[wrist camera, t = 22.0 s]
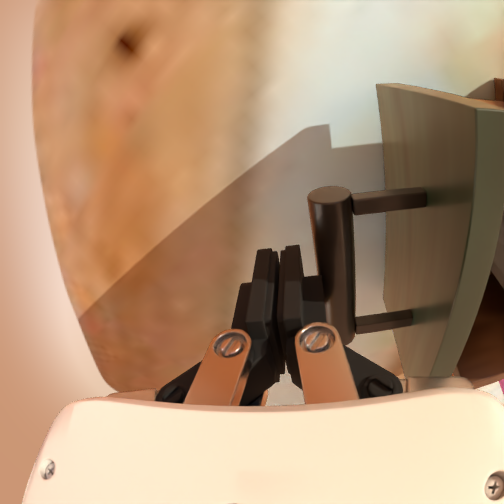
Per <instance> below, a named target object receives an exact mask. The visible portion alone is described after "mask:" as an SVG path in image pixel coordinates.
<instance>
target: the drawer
mask: <svg viewBox="0 0 504 504" xmlns="http://www.w3.org/2000/svg"><path fill="white" fill-rule="evenodd" d="M376 90H377V97H378V104H379V112H380V121H381V131H382V142H383V154H384V170H385V190H383V191H373V192H364V193H355V194H351V192H350V191H349V190H348V189H346V188H344V187H339V186H327V187H321V188H318V189H315V190H313V191H311V192H310V193H309V194H308V197H307V200H308V206H309V213H310V220H311V228H312V235H313V243H314V250H315V258H316V267H317V275H322V283H323V292H324V301H325V311H326V321H327V324H330V325H332V326H333V327H335V328H336V329H337V331H338V333H339V335H340V338H341V341H342V344H343V345H348V344H349V343H350V342H352V340H353V339H354V337H355V332H356V334H363V333H370V332H377V331H384V330H390V329H392V330H393V333H394V337H395V341H396V344H397V348H398V352H399V356H400V360H401V364H402V368H403V372H404V376H405V379H408V376H423V377H439V376H452V373H453V374H454V376H460V377H465V378H467V379H468V380H470V381H471V383H472V384H473V385H474V389H476V388H479V387H482V386H485V385H488V384H491V383H494V382H497V381H500V380H502V379H504V289H503V287H502V286H501V284H500V283H499V281H498V280H497V278H496V277H495V276H494V274H493V273H492V271H491V267H492V263H493V259H494V254H495V250H496V246H497V241H498V236H499V231H500V226H501V221H502V215H503V209H504V102H503V101H494V100H483V99H470V98H466V97H462V96H458V95H454V94H450V93H446V92H441V91H437V90H432V89H427V88H422V87H417V86H411V85H405V84H398V83H388V84H376ZM379 212H386V253H385V277H384V292H383V300H384V303H385V306H386V309H387V313H381V314H374V315H367V316H360V317H355V311H356V285H355V247H354V226H353V214H354V215H362V214H371V213H379Z"/></svg>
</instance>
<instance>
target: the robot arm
mask: <svg viewBox="0 0 504 504" xmlns="http://www.w3.org/2000/svg"><path fill="white" fill-rule="evenodd" d="M285 360H286V365H287V369H288V373H289V374H291V378H292V382H293V383H294V384H295V385H296V386H298V387H299V388H300V389H302V390H303V395H304V400H305V404H304V405H285V406H265V404H266V401H267V397H268V388H270V387H271V386H272V385H273V384H275V382H279V379H280V374H285ZM22 504H504V407H503V405H502V404H501V402H500V401H499V400H498V399H497V398H496V397H494V396H493V395H491V394H489V393H487V392H484V391H480V390H476V389H474V385H473V384H472V383H471V381H470V380H468V379H467V378H465V377H460V376H439V377H423V376H408V379H399V378H398V377H396V376H395V375H394V374H392V373H391V372H389V371H387V370H385V369H384V368H382V367H380V366H378V365H377V364H375V363H373V362H372V361H370V360H368V359H367V358H365V357H363V356H361V355H360V354H358V353H356V352H355V351H353V350H351V349H350V348H348V347H346V346H345V345H343V344H342V341H341V338H340V335H339V333H338V331H337V329H336V328H335V327H333V326H332V325H330V324H327V321H326V311H325V301H324V292H323V283H322V275H316V276H308V277H304V273H303V266H302V259H301V252H300V246H299V245H293V246H286V248H285V250H281V254H280V263H279V258H278V253H277V251H273V252H272V249H271V248H268V249H260V250H257V255H256V261H255V266H254V272H253V278H252V282H250V283H242V284H241V286H240V290H239V294H238V299H237V303H236V308H235V313H234V317H233V322H232V327H231V329H229V330H225V331H223V332H221V333H219V334H218V335H216V336H215V337H214V338H213V340H212V341H211V343H210V345H209V347H208V349H207V352H206V354H205V356H204V358H203V360H202V361H201V362H199V363H198V364H196V365H195V366H193V367H192V368H190V369H189V370H187V371H186V372H184V373H183V374H181V375H180V376H178V377H177V378H175V379H174V380H172V381H171V382H169V383H168V384H166V385H165V386H164V387H162V388H161V389H160V390H159V391H157V390H156V388H153V389H145V390H137V391H128V392H118V393H112V394H109V395H108V396H107V397H95V398H86V399H82V400H78V401H75V402H72V403H70V404H68V405H66V406H65V407H64V408H63V409H62V410H61V411H60V412H59V414H58V415H57V416H56V418H55V420H54V421H53V423H52V425H51V427H50V429H49V431H48V433H47V435H46V437H45V439H44V442H43V444H42V446H41V449H40V451H39V454H38V456H37V459H36V461H35V464H34V467H33V470H32V472H31V475H30V478H29V481H28V485H27V487H26V490H25V494H24V497H23V501H22Z"/></svg>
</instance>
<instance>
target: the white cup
mask: <svg viewBox="0 0 504 504" xmlns="http://www.w3.org/2000/svg"><path fill="white" fill-rule="evenodd" d="M491 271H492V273H493V274H494V276H495V277H496V278H497V280H498V281H499V283H500V284H501V286H502V287H503V289H504V209H503V215H502V221H501V226H500V231H499V236H498V241H497V246H496V250H495V254H494V259H493V263H492V267H491Z"/></svg>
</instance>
